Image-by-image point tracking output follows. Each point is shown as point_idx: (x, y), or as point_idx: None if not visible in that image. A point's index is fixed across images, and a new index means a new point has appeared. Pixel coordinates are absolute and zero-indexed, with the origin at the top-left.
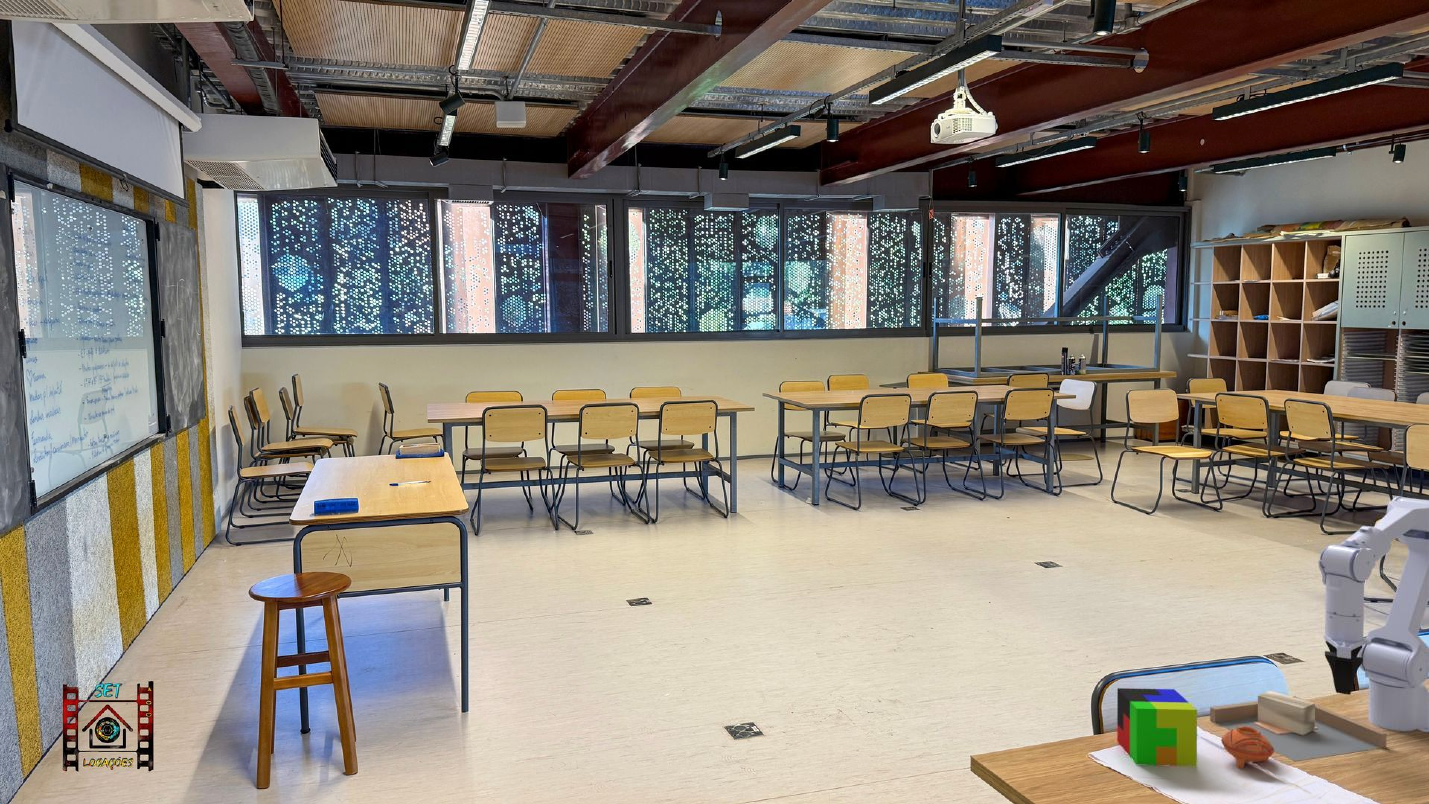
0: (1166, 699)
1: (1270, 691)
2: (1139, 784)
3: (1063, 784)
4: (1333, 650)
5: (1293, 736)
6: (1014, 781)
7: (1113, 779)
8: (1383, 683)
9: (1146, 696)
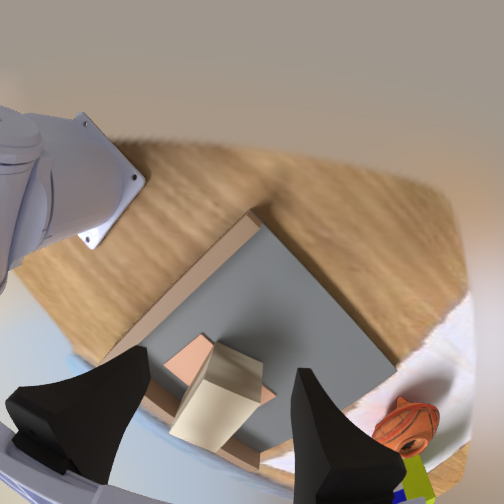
0: None
1: (173, 433)
2: (455, 454)
3: (452, 477)
4: (106, 461)
5: (272, 374)
6: (446, 490)
7: (445, 466)
8: (47, 223)
9: None
